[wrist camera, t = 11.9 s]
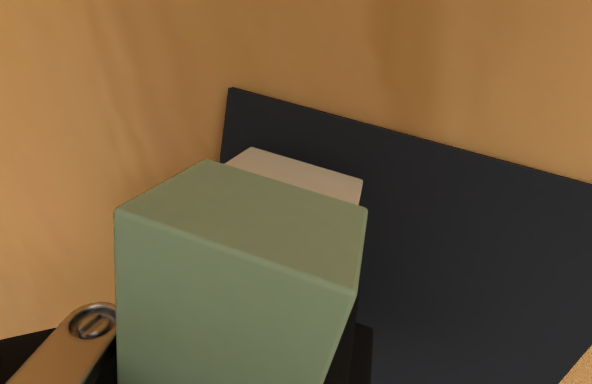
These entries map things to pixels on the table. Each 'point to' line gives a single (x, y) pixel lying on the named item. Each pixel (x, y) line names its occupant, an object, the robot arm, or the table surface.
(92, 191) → the table surface
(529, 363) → the desk mat
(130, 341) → the green and beige block
